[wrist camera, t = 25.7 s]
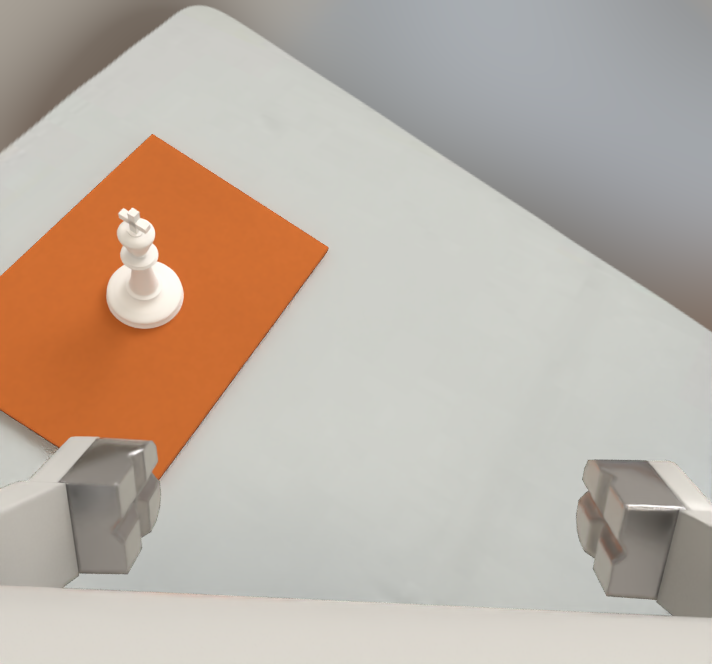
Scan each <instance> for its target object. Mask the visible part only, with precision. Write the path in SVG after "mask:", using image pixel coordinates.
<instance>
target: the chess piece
mask: <svg viewBox="0 0 712 664" xmlns="http://www.w3.org/2000/svg"><path fill="white" fill-rule="evenodd" d="M118 215H119V218H120V219H122V220H123V222H122V223H121V224H120V225H119V227H118V229H117V237H118V240H119V241H120V243H121V244H122V245H123V247H122V249H121V252H120V257H121V260H122V262H123V264H124V265H123V266H121V267H120V268H119V269H117V270H116V271H115V272H114V274H113V275H112V276H111V278H110V280H109V282H108V285H107V293H106V299H107V304H108V307H109V309H110V311H111V312H112V314H113V315H114V316H115V317H116V318H117V319H118V320H119V321H121V322H122V323H124V324H126V325H128V326H131V327H134V328H140V329H149V328H155V327H159V326H161V325H164V324H166V323H167V322H169V321H170V320H172V319H173V318H174V317H175V316H176V315H177V313H178V312H179V310H180V309H181V306H182V304H183V299H184V292H183V287H182V285H181V282H180V280H179V278H178V276H177V275H176V273H175V272H174V271H173V270H172V269H171V268H169V267H168V266H166V265H165V264H162V263H160V262H157V260H158V250H157V248H156V246H155V245H154V244H153V241H154V239H155V230H154V227H153V226H152V224H151V223H150V222H148V221H147V220H145V219H142V218H140V213H139V211H137V210H136V209H134V208H131V209H130V210H129V211H127V210H126V209H124V208H123V209H122V210H121V211H120V212H119V213H118Z"/></svg>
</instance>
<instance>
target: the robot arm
mask: <svg viewBox="0 0 712 664" xmlns="http://www.w3.org/2000/svg"><path fill="white" fill-rule="evenodd" d="M157 463H158V455H157V447H156V445H155V443H154V442H153V440H138V439H121V438H105V437H102V438H100V437H91V436H74V437H70V438H69V439H68V440H67V441H66V442H65V443H64V444H63V445H62V446H61V447H60V448H59V449H58V450H57V451H56V452H55V453H54V454H53V455H52V456H51V457H50V458H49V459H48V460H47V461H46V462H45V463H44V464H43V465H42V466H41V467H40V468H39V469H38V470H37V471H36V473H35V474H34V475H33V476H32V477H31V478H30V479H29V480H28V481H17V482H15V483H12V484H10V485H7V486H5V487H2V488H0V664H712V503H711V502H710V501H709V500H708V499H707V497H706V496H705V495H704V494H703V493H702V492H701V491H700V490H699V489H698V487H697V486H696V485H695V484H694V483H693V482H692V481H691V480H690V479H689V477H688V476H687V475H686V474H685V473H684V472H683V471H682V470H681V468H680V467H679V466H678V465H677V464H676V463H674V462H671V461H646V460H588V461H587V464H586V466H585V468H584V473H583V478H582V480H583V482H584V484H585V486H586V487H587V489H588V491H587V492H586V493H585V494H584V495H583V496H582V497H581V498H580V499H579V500H578V506H577V513H576V523H577V533H578V537H579V541H580V543H581V545H582V547H583V550H584V551H585V552H586V553H587V554H589V555H590V556H592V557H593V558H595V560H594V565H593V570H594V572H595V574H596V576H597V578H598V580H599V582H600V584H601V586H602V588H603V590H604V592H605V594H606V596H611V597H624V598H638V599H652V600H657V601H656V602H657V603H658V604H659V605H661V606H662V607H663V608H664V609H665V610H667V611H668V612H669V613H670V614H671V615H672V616H663V615H641V614H619V613H598V612H576V611H554V610H532V609H510V608H489V607H467V606H445V605H423V604H402V603H380V602H358V601H337V600H315V599H293V598H272V597H250V596H228V595H206V594H185V593H163V592H141V591H120V590H98V589H76V588H63V587H64V586H66V585H67V584H68V583H70V582H71V581H73V580H74V579H75V578H77V577H78V576H79V573H86V574H128V573H129V571H130V569H131V568H132V566H133V564H134V562H135V560H136V559H137V557H138V555H139V553H140V551H141V549H142V542H141V538H142V537H143V536H145V535H147V534H148V533H150V532H151V531H152V529H153V527H154V525H155V523H156V521H157V517H158V513H159V509H160V501H161V488H160V481H159V480H158V479H157V478H156V477H155V475H154V474H153V473H152V471H153V469H154V468H155V466H156V464H157Z"/></svg>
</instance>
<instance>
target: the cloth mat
mask: <svg viewBox="0 0 712 664" xmlns="http://www.w3.org/2000/svg"><path fill="white" fill-rule="evenodd" d="M123 208H124V209H126V210H127V211H129V210H130V209H131V208H134V209H136V210H137V211H139V213H140V218H142V219H145V220H147V221H148V222H150V223H151V224H152V226H153V227H154V230H155V239H154V241H153V244H154V245H155V246H156V248H157V250H158V260H157V262H160V263H162V264H165V265H166V266H168V267H169V268H171V269H172V270H173V271H174V272H175V273H176V275H177V276H178V278H179V280H180V282H181V285H182V287H183V292H184V299H183V304H182V306H181V309H180V310H179V312H178V313H177V315H176V316H175V317H174V318H173V319H172V320H170V321H169V322H167V323H166V324H164V325H161V326H159V327H155V328H149V329H140V328H134V327H131V326H128V325H126V324H124V323H122V322H121V321H119V320H118V319H117V318H116V317H115V316H114V315H113V314H112V312H111V311H110V309H109V307H108V304H107V299H106V293H107V285H108V282H109V280H110V278H111V276H112V275H113V274H114V272H115V271H116V270H117V269H119V268H120V267H121V266H123V265H124V264H123V262H122V260H121V257H120V252H121V249H122V247H123V245H122V244H121V243H120V241H119V240H118V237H117V229H118V227H119V225H120V224H121V223H122V222H123V220H122V219H120V218H119V215H118V213H119V212H120V211H121V210H122V209H123ZM327 251H328V247H327V246H326V245H324V244H322V243H321V242H319V241H318V240H316V239H315V238H313V237H312V236H310V235H308V234H307V233H305V232H304V231H302V230H301V229H299V228H298V227H296V226H294V225H293V224H291V223H290V222H288V221H287V220H285V219H284V218H282V217H281V216H279V215H277V214H276V213H274V212H273V211H271V210H270V209H268V208H267V207H265V206H263V205H262V204H260V203H259V202H257V201H256V200H254V199H253V198H251V197H249V196H248V195H246V194H245V193H243V192H242V191H240V190H239V189H237V188H236V187H234V186H232V185H231V184H229V183H228V182H226V181H225V180H223V179H222V178H220V177H218V176H217V175H215V174H214V173H212V172H211V171H209V170H208V169H206V168H204V167H203V166H201V165H200V164H198V163H197V162H195V161H194V160H192V159H191V158H189V157H187V156H186V155H184V154H183V153H181V152H180V151H178V150H177V149H175V148H173V147H172V146H170V145H169V144H167V143H166V142H164V141H163V140H161V139H160V138H158V137H156V136H155V135H153V134H152V135H151V136H150V137H149V138H148V139H146V140H145V141H144V142H143V143H142V144H141V145H140V146H139V147H138V148H137V149H136V150H135V151H134V152H133V153H132V154H130V155H129V156H128V157H127V158H126V159H125V160H124V161H123V162H122V163H121V164H120V165H119V166H118V167H117V168H116V169H114V170H113V171H112V172H111V173H110V174H109V175H108V176H107V177H106V178H105V179H104V180H103V181H102V182H101V183H99V184H98V185H97V186H96V187H95V188H94V189H93V190H92V191H91V192H90V193H89V194H88V195H87V196H86V197H85V198H83V199H82V200H81V201H80V202H79V203H78V204H77V205H76V206H75V207H74V208H73V209H72V210H71V211H70V212H68V213H67V214H66V215H65V216H64V217H63V218H62V219H61V220H60V221H59V222H58V223H57V224H56V225H55V226H54V227H52V228H51V229H50V230H49V231H48V232H47V233H46V234H45V235H44V236H43V237H42V238H41V239H40V240H39V241H38V242H36V243H35V244H34V245H33V246H32V247H31V248H30V249H29V250H28V251H27V252H26V253H25V254H24V255H23V256H21V257H20V258H19V259H18V260H17V261H16V262H15V263H14V264H13V265H12V266H11V267H10V268H9V269H8V270H7V271H5V272H4V273H3V274H2V275H1V276H0V410H1V411H3V412H4V413H6V414H7V415H9V416H10V417H12V418H13V419H15V420H17V421H18V422H20V423H21V424H23V425H24V426H26V427H27V428H29V429H31V430H32V431H34V432H35V433H37V434H38V435H40V436H41V437H43V438H44V439H46V440H48V441H49V442H51V443H52V444H54V445H55V446H57V447H58V448H60V447H61V446H62V445H63V444H64V443H65V442H66V441H67V440H68V439H69V438H70V437H74V436H91V437H100V438H102V437H105V438H121V439H138V440H153V442H154V443H155V445H156V447H157V455H158V463H157V464H156V466H155V468H154V469H153V471H152V473H153V474H154V475H155V477H156V478H157V479H158V480H159V479H160V478H161V476H162V475H163V474H164V472H165V471H166V470H167V468H168V467H169V466H170V464H171V463H172V461H173V460H174V459H175V457H176V456H177V455H178V453H179V452H180V451H181V449H182V448H183V447H184V445H185V444H186V442H187V441H188V440H189V438H190V437H191V436H192V434H193V433H194V432H195V430H196V429H197V428H198V426H199V425H200V423H201V422H202V421H203V419H204V418H205V417H206V415H207V414H208V413H209V411H210V410H211V409H212V407H213V406H214V404H215V403H216V402H217V400H218V399H219V398H220V396H221V395H222V394H223V392H224V391H225V390H226V388H227V387H228V385H229V384H230V383H231V381H232V380H233V379H234V377H235V376H236V375H237V373H238V372H239V371H240V369H241V368H242V366H243V365H244V364H245V362H246V361H247V360H248V358H249V357H250V356H251V354H252V353H253V352H254V350H255V349H256V347H257V346H258V345H259V343H260V342H261V341H262V339H263V338H264V337H265V335H266V334H267V333H268V331H269V330H270V328H271V327H272V326H273V324H274V323H275V322H276V320H277V319H278V318H279V316H280V315H281V314H282V312H283V311H284V309H285V308H286V307H287V305H288V304H289V303H290V301H291V300H292V299H293V297H294V296H295V295H296V293H297V292H298V290H299V289H300V288H301V286H302V285H303V284H304V282H305V281H306V280H307V278H308V277H309V276H310V274H311V273H312V271H313V270H314V269H315V267H316V266H317V265H318V263H319V262H320V261H321V259H322V258H323V257H324V255H325V254H326V252H327Z"/></svg>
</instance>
